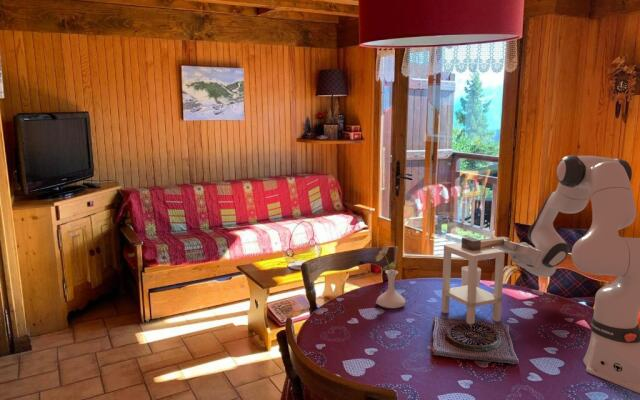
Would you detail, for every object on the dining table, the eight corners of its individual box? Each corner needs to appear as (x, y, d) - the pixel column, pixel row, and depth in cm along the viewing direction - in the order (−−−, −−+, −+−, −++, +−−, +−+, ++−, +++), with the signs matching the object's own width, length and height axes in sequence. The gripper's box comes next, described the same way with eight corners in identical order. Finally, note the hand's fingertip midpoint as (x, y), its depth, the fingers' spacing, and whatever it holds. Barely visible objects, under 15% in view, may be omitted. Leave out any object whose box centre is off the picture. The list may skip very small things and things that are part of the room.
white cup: (482, 294, 206) (483, 271, 205) (463, 294, 206) (464, 271, 205) (476, 288, 214) (477, 265, 212) (458, 288, 214) (459, 265, 213)
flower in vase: (391, 298, 203) (393, 238, 198) (411, 306, 193) (413, 244, 189) (367, 305, 195) (367, 243, 191) (386, 314, 186) (387, 249, 182)
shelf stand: (500, 320, 180) (504, 251, 176) (469, 327, 174) (473, 255, 170) (470, 305, 194) (473, 241, 190) (441, 311, 189) (443, 245, 184)
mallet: (512, 245, 183) (512, 236, 183) (472, 250, 176) (473, 241, 175) (500, 241, 189) (500, 232, 188) (461, 247, 181) (461, 237, 181)
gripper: (506, 241, 200) (483, 227, 194) (547, 253, 182) (524, 238, 176) (499, 255, 200) (476, 241, 194) (540, 269, 181) (516, 254, 175)
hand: (499, 240), depth 185 cm, fingers closed on mallet, 3 cm apart
